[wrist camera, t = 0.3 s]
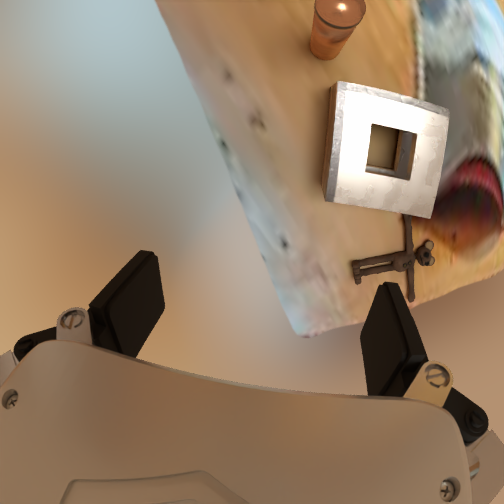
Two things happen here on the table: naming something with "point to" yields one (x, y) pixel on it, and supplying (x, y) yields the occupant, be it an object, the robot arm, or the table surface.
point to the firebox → (407, 156)
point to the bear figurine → (398, 260)
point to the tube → (334, 25)
